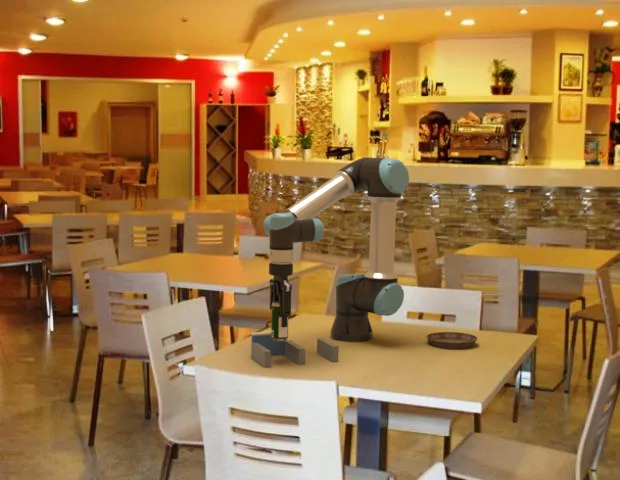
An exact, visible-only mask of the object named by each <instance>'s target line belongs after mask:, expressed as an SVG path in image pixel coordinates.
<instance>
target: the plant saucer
mask: <svg viewBox="0 0 620 480" xmlns="http://www.w3.org/2000/svg"><path fill="white" fill-rule="evenodd" d="M426 339H427V341H428V342H429V343H430V344H431V345H432V346H434V347H436V346H438V347H437V348H441V347H444V348H443V349H449V348H453V350H455V349H457V350H459V349H467V348H470V347H472V346H473V345H474V344H475V343H476V342H477V340H478V336H476V335H474V334H470V333H466V332H465V333H464V332H457V331H456V332H455V331H442V332H441V331H440V332H431V333H429V334H427V335H426Z"/></svg>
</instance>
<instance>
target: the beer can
mask: <svg viewBox="0 0 620 480" xmlns="http://www.w3.org/2000/svg"><path fill="white" fill-rule="evenodd" d="M278 315H280V306H279V301H273V302H272V311H271V315H270V317H271V320H270V321H271V322H270V323H271V324H270V332H271V338H272V340H274V341H285V340H286V341H287V340H288V338H289V331H288V332H287V337H279V317H278Z"/></svg>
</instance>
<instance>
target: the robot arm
mask: <svg viewBox="0 0 620 480" xmlns="http://www.w3.org/2000/svg"><path fill="white" fill-rule="evenodd" d="M409 181H410V174H409V170H408V168H407V166H406V165H405V164H404V162H402V161H401V160H399V159H396V158H391V157H367V156H366V157H361V158H359V159H356V160H353V161H352V162H350V163H348V164H347V165H345V166H343V167H342V168H340V169H339V170H337V171H335V172H334V173H333V176H332V178H330V179H329V180H328V181H326V182H325V183H323V184H322V185H321V186H319V187H317V188H316V189H314V190H313V191H311V192H310V193H308V194H307V195H306V196H304V197H303V198H301V199H300V200H298V201H297V202H296V203H295V202H294V204H292V205H291V206H289V207H288V208H287V209H285V210H283V211H282V212H281V213H280V212H277V213H272V214H269V215H268V216H266V218H265V219H264V220H263V224H262V225H263V226H262V228H263V231H264V233H265V235H267V236H268V237H269V252H268V253H267V255H268V256H269V260H268V261H269V262H270V263H268V274H269V275H270V276H273V278H271V279H270V278H269V287H270V288H269V289H270V290H269V310H270V311H271V312H272V302H273V301H279V306H280V315H278V317H279V337H287V332H288V333H289V316H290V317H291V315H292V290H293V285H292V284H289V283H290V282H289V278H288V277H290V276H292V275H293V274H294V263H292V262H293V261H294V244H296V243H314V242H318V241H321V240H322V238H323V237H324V235H325V226H324V223H323V222H322V220H320V219H319V218H315V217H317V216H318V215H319V214H321V213H322V212H324V211H325V210H327V209H328V208H330V207H331V206H333V205H334V204H335V203H337V202H338V201H340V200H341V199H343V198H344V197H346V196H347V197H350V196H352V195H353V194H355V193H357V192H363V191H364V192H365V191H367V193H366V195H367V198H368V200H369V201H370V202H371V205H370V209H371V210H370V227H369V228H370V229H369V255H368V270H367V272H365V273H362V272H360V273H359V272H358V273H346V274H340V275H338V276H337V278H336V285H335V287H336V288H335V316H334V320H333V323H332V326H331V329H330V338H331V339H334V340H338V341H341V342H342V341H344V342H364V341H370V340H371V339H373V333H374V332H373V329H372V324H371V322H370V318H369V313H371V314H375V315H377V316H385V317H386V316H387V317H389V316H393V315H394V314H396V313H397V312H398V311H399V309H400V308H401V307H402V305H403V302H404V298H405V292H404V291H405V290H404V289H403V287H402V285H401V284H399V283H398V275H397V274H396V273H395V272H394V271H395V270H394V268H395V267H394V266H395V264H394V263H395V247H396V245H395V243H396V242H395V241H396V219H397V217H396V216H397V203H398V202H399V201H400V200H401V199H402V193H404V192H405V191H406V190H407V187H408V186H409Z"/></svg>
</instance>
